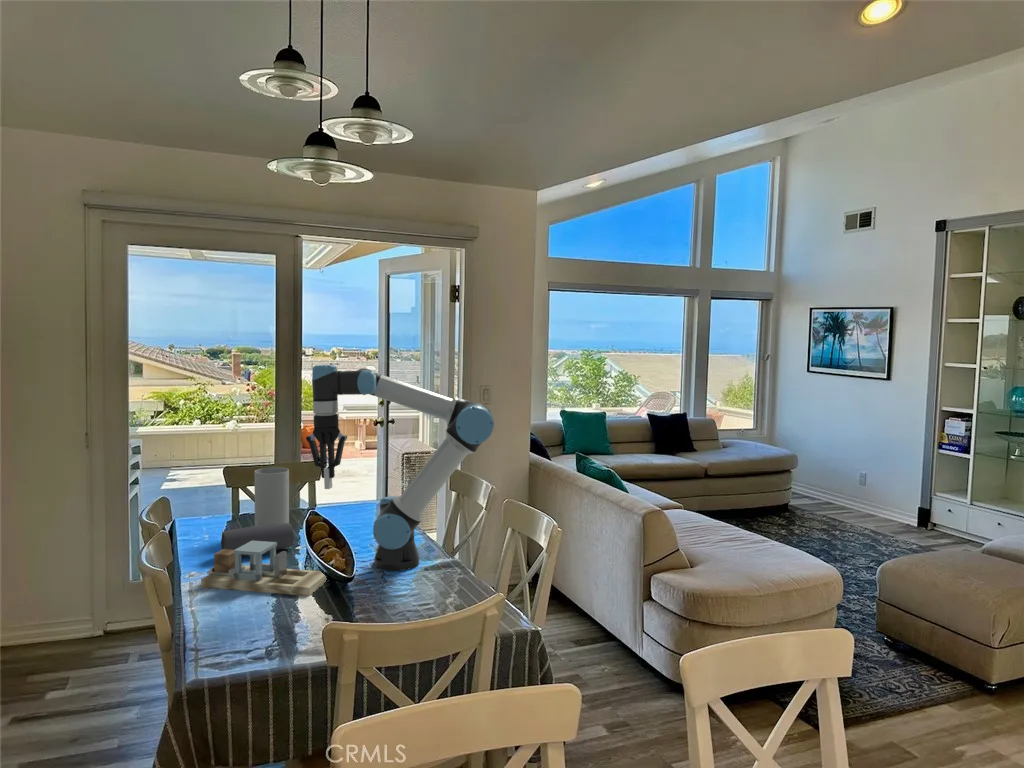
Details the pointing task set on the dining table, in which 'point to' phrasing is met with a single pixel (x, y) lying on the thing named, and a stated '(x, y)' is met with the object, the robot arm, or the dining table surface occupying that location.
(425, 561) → the dining table surface
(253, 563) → the tunnel
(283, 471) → the cylinder vase
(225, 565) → the block
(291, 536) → the bluetooth speaker
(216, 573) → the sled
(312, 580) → the platform
